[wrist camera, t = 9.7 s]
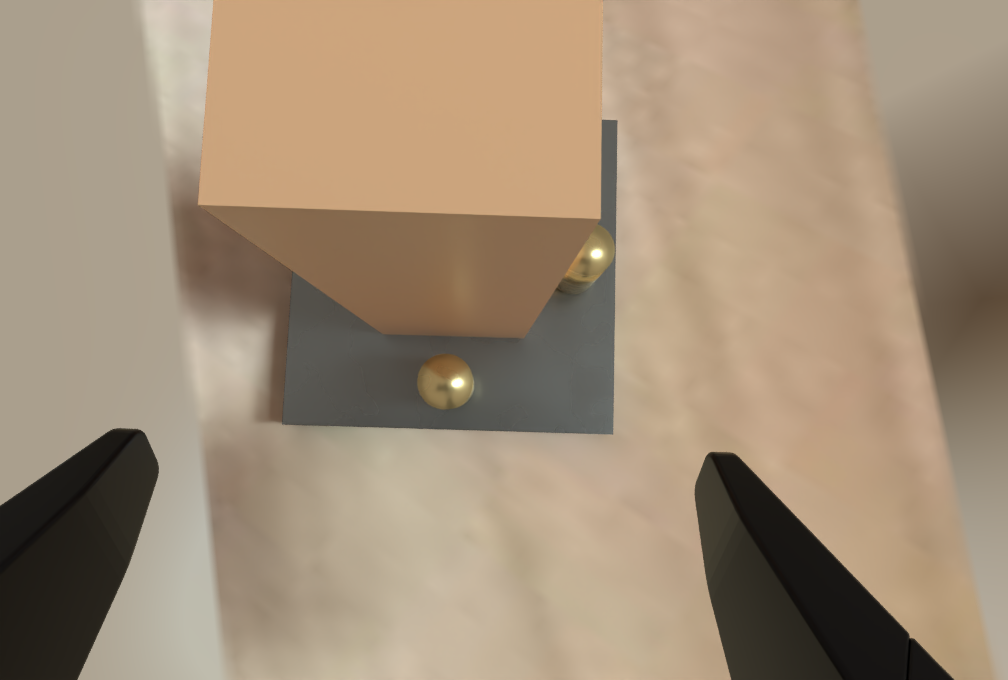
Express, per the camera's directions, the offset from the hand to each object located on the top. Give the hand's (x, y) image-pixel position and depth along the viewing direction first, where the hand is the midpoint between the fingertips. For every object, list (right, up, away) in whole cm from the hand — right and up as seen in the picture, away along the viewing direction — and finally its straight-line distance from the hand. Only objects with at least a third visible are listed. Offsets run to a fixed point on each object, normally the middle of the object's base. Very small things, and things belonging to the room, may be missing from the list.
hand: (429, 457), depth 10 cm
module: (0, +4, +10) cm, 11 cm away
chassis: (0, +4, +11) cm, 12 cm away
